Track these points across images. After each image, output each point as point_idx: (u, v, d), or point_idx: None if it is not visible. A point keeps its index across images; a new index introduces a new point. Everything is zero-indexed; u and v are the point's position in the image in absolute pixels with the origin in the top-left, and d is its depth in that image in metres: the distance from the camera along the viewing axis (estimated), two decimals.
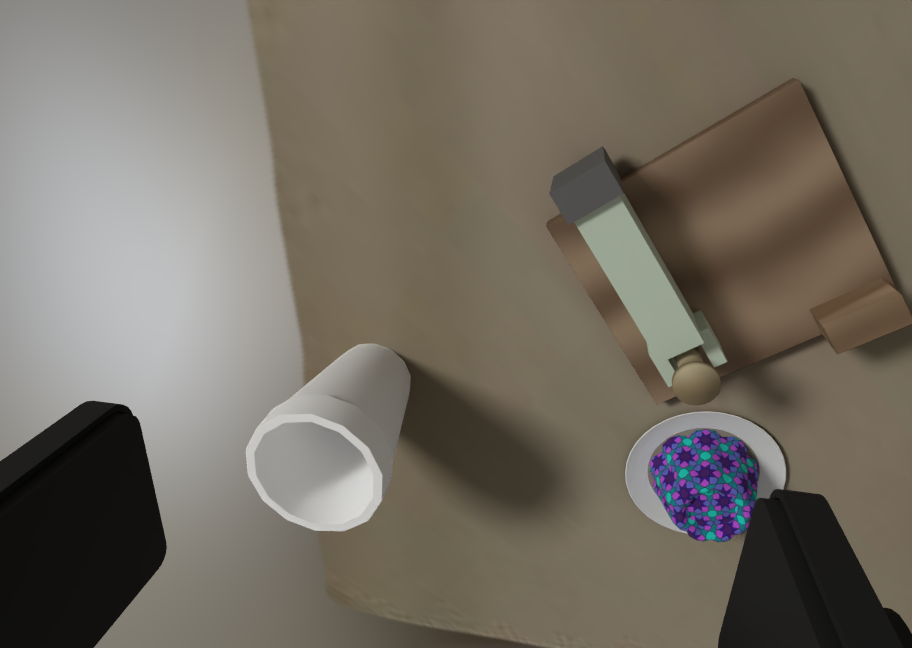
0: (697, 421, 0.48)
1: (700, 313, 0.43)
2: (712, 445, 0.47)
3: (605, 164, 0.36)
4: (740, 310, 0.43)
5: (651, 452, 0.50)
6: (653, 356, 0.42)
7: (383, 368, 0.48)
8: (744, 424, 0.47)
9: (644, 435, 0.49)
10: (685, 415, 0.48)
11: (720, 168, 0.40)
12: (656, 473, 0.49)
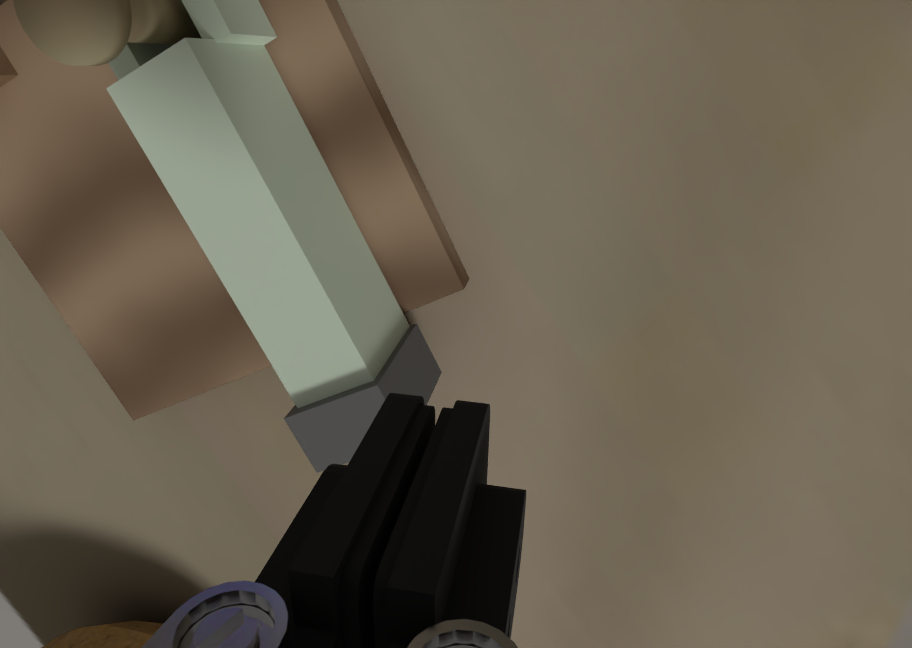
0: None
1: None
2: None
3: (315, 467, 0.21)
4: None
5: None
6: (221, 28, 0.18)
7: None
8: None
9: None
10: None
11: (201, 333, 0.26)
12: None
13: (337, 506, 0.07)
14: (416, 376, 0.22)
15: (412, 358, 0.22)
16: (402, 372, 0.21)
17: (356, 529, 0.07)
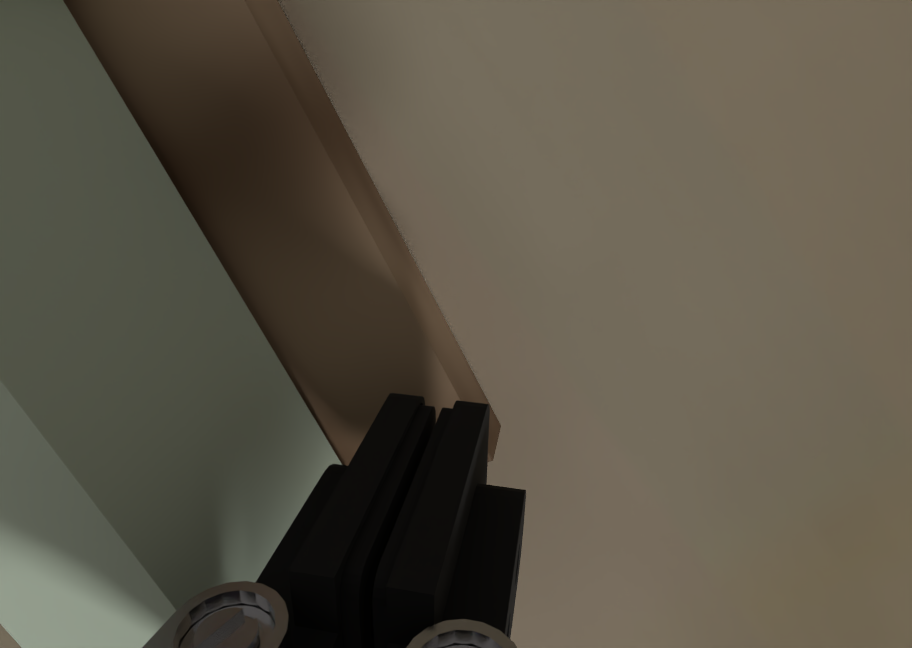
0: None
1: None
2: None
3: None
4: None
5: None
6: None
7: None
8: None
9: None
10: None
11: None
12: None
13: (338, 506, 0.07)
14: None
15: None
16: None
17: (358, 529, 0.07)
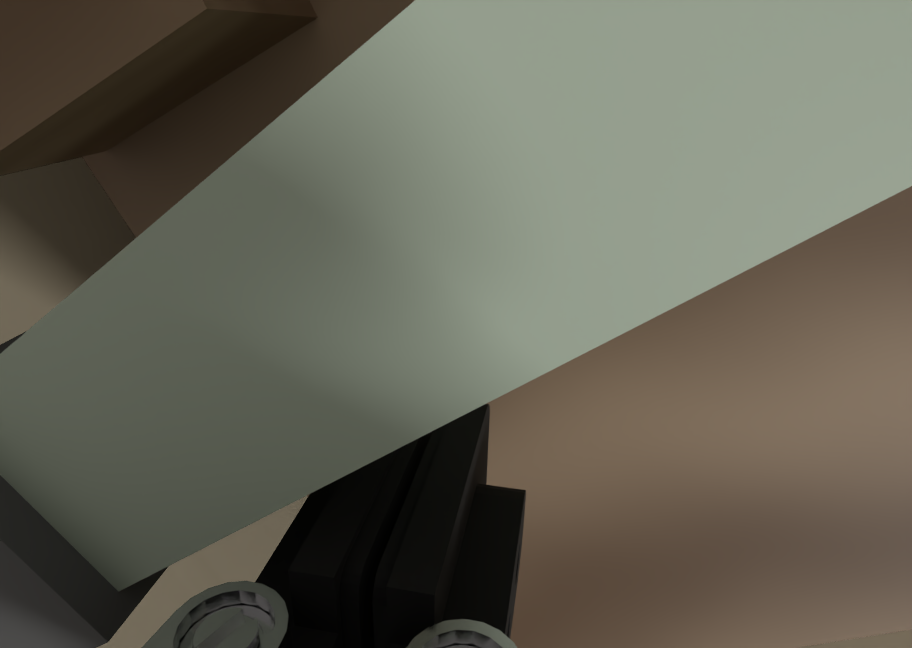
0: None
1: None
2: None
3: None
4: None
5: None
6: None
7: None
8: None
9: None
10: None
11: (649, 579, 0.12)
12: None
13: (338, 506, 0.07)
14: None
15: None
16: None
17: (357, 529, 0.07)
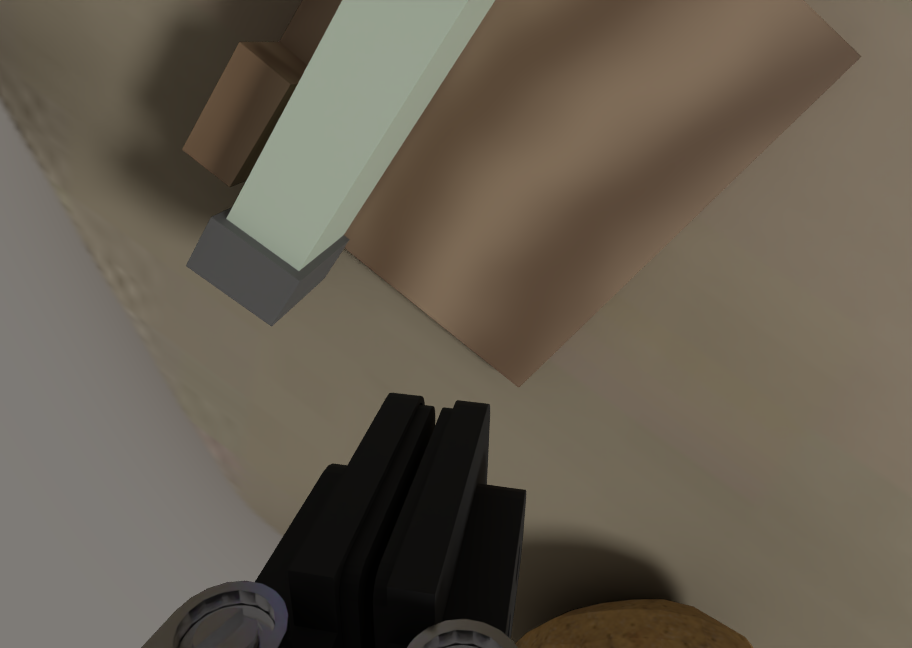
0: None
1: None
2: None
3: (189, 262, 0.22)
4: None
5: None
6: None
7: None
8: None
9: None
10: None
11: (568, 257, 0.25)
12: None
13: (337, 506, 0.07)
14: (315, 278, 0.24)
15: (325, 265, 0.25)
16: (314, 274, 0.23)
17: (356, 529, 0.07)
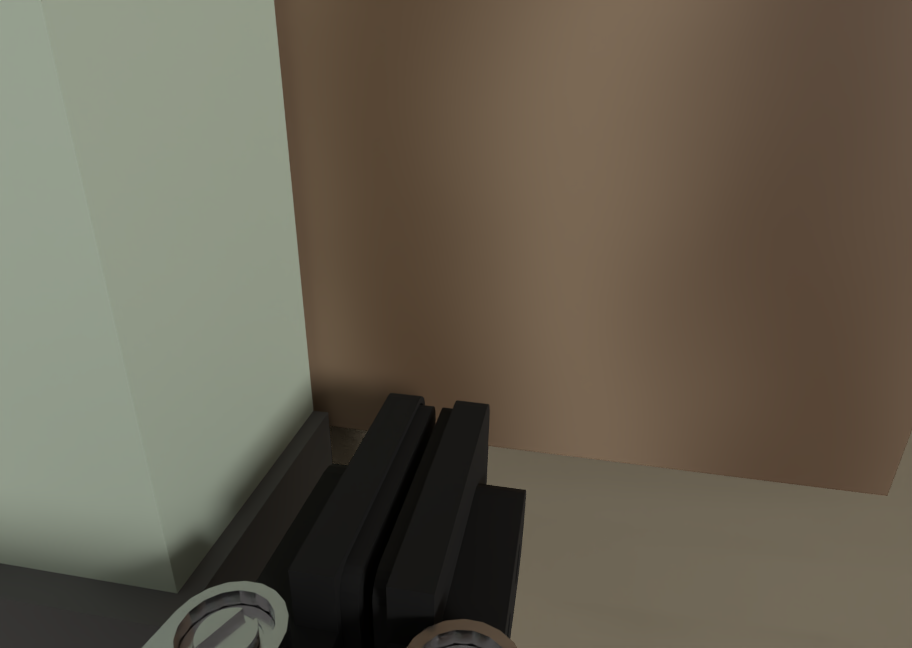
0: None
1: None
2: None
3: None
4: None
5: None
6: None
7: None
8: None
9: None
10: None
11: (824, 145, 0.09)
12: None
13: (337, 506, 0.07)
14: None
15: (291, 501, 0.11)
16: (257, 549, 0.10)
17: (357, 529, 0.07)
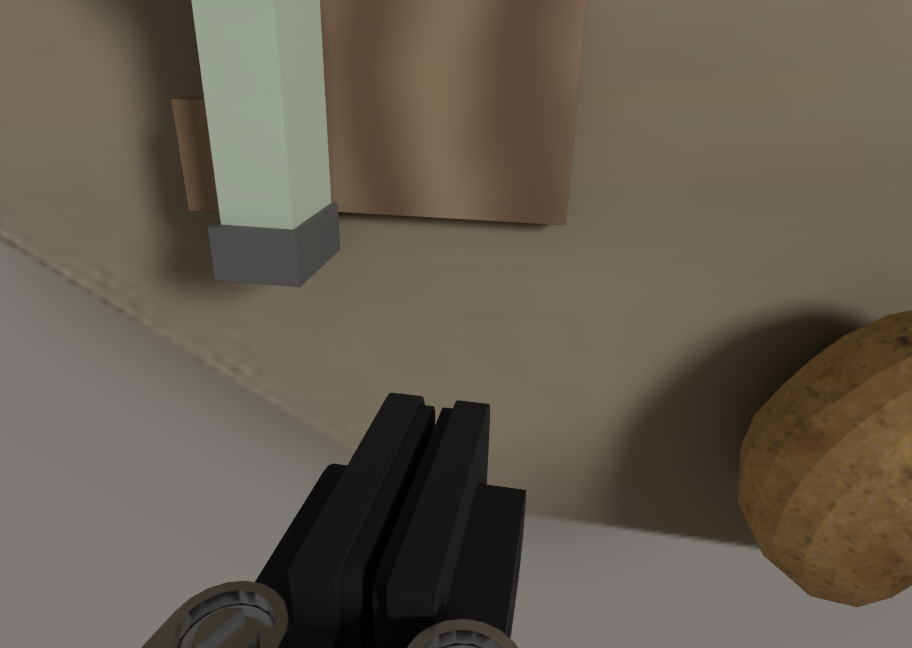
0: None
1: None
2: None
3: (215, 275, 0.25)
4: None
5: None
6: None
7: None
8: None
9: None
10: None
11: (518, 82, 0.26)
12: None
13: (337, 506, 0.07)
14: (322, 242, 0.27)
15: (324, 228, 0.27)
16: (314, 234, 0.26)
17: (356, 529, 0.07)
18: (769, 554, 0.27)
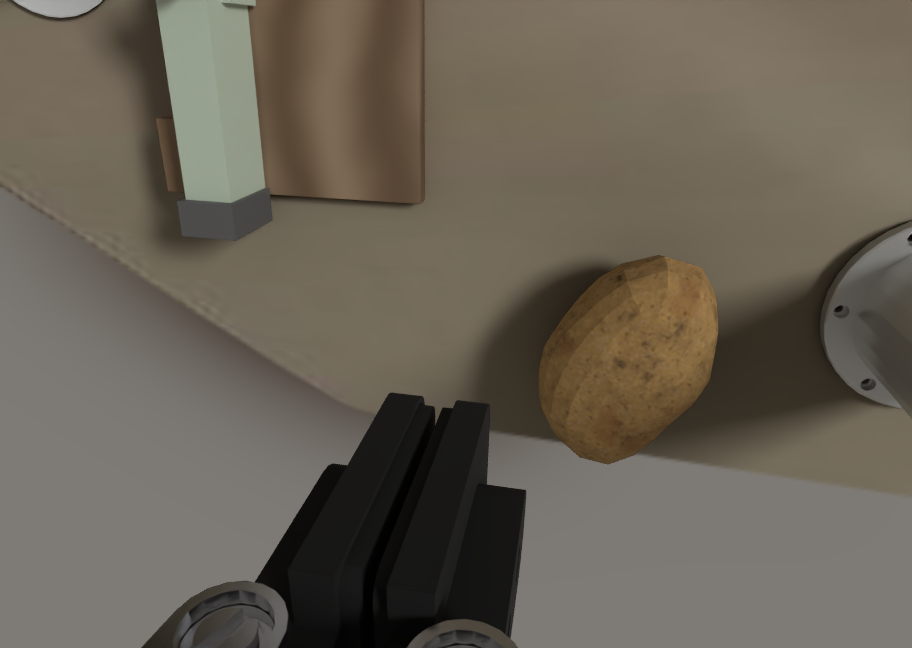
0: None
1: None
2: None
3: (182, 232, 0.39)
4: None
5: None
6: None
7: None
8: (74, 7, 0.41)
9: None
10: None
11: (382, 108, 0.39)
12: None
13: (337, 506, 0.07)
14: (255, 213, 0.41)
15: (257, 204, 0.41)
16: (248, 207, 0.40)
17: (356, 529, 0.07)
18: (553, 428, 0.40)
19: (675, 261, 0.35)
